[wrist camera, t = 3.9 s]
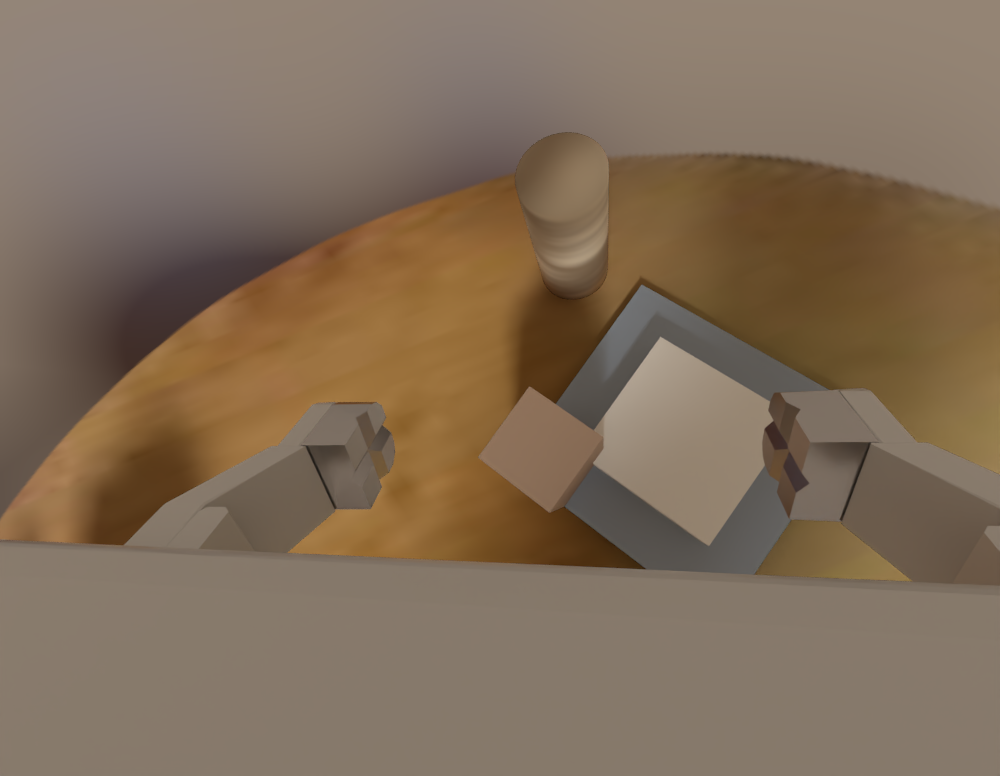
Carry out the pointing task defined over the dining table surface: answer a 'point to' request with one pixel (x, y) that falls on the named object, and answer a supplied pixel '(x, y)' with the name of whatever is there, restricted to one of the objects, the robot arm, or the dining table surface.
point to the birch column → (567, 211)
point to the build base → (625, 507)
